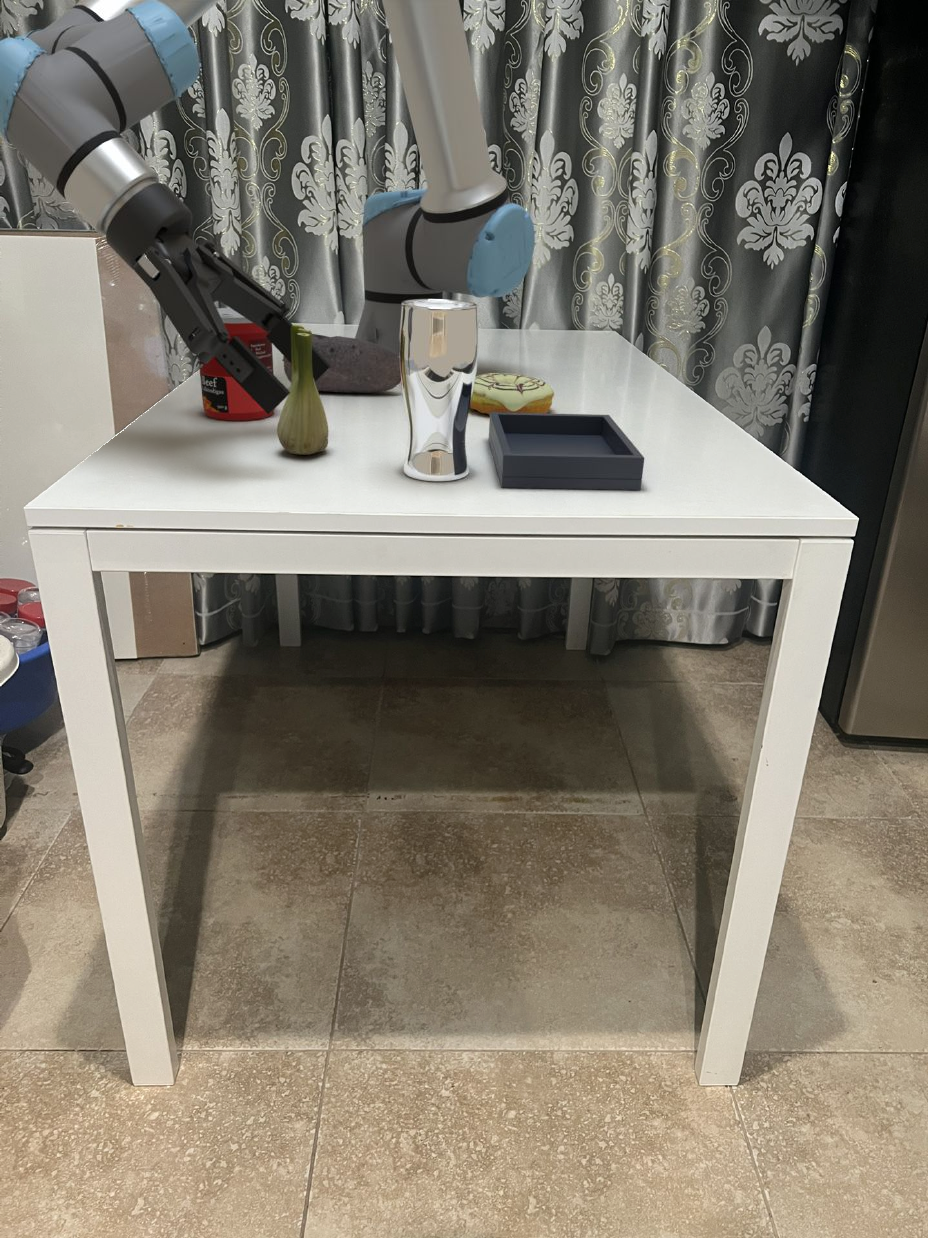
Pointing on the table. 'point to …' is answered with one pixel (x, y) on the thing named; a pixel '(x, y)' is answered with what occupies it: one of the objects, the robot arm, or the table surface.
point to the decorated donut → (510, 394)
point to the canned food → (217, 384)
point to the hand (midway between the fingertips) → (302, 389)
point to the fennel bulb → (302, 402)
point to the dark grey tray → (563, 452)
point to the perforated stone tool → (353, 365)
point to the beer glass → (437, 384)
